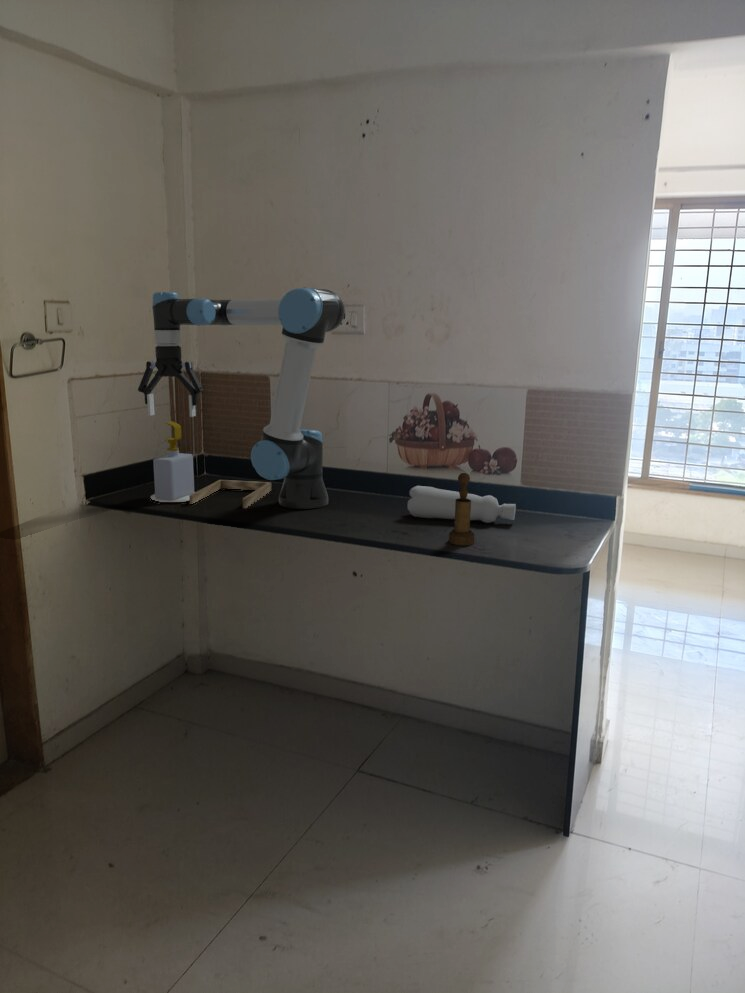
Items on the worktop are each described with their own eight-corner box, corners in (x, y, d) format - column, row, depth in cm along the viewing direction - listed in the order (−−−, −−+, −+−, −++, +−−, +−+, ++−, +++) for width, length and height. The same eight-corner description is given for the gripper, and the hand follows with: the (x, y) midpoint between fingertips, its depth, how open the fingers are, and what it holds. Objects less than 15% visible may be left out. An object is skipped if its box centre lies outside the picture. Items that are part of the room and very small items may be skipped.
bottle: (404, 509, 216) (511, 522, 208) (410, 480, 219) (516, 491, 211) (410, 520, 224) (513, 532, 216) (415, 491, 227) (517, 502, 219)
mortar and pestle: (476, 545, 193) (479, 475, 189) (451, 545, 193) (453, 476, 189) (471, 538, 200) (474, 470, 196) (446, 538, 199) (449, 470, 195)
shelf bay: (271, 491, 251) (271, 482, 251) (246, 508, 228) (245, 498, 228) (220, 488, 255) (219, 479, 254) (189, 504, 232) (189, 495, 231)
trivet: (207, 494, 246) (207, 492, 246) (187, 505, 231) (187, 502, 231) (163, 492, 249) (163, 489, 248) (141, 502, 234) (141, 500, 234)
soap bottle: (177, 491, 246) (174, 418, 241) (195, 493, 244) (192, 420, 239) (154, 499, 235) (150, 423, 230) (172, 501, 233) (168, 424, 228)
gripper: (212, 345, 231) (215, 415, 235) (135, 344, 235) (140, 413, 240) (201, 345, 223) (205, 418, 228) (123, 345, 228) (128, 416, 233)
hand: (172, 415), depth 234 cm, fingers open, 13 cm apart
